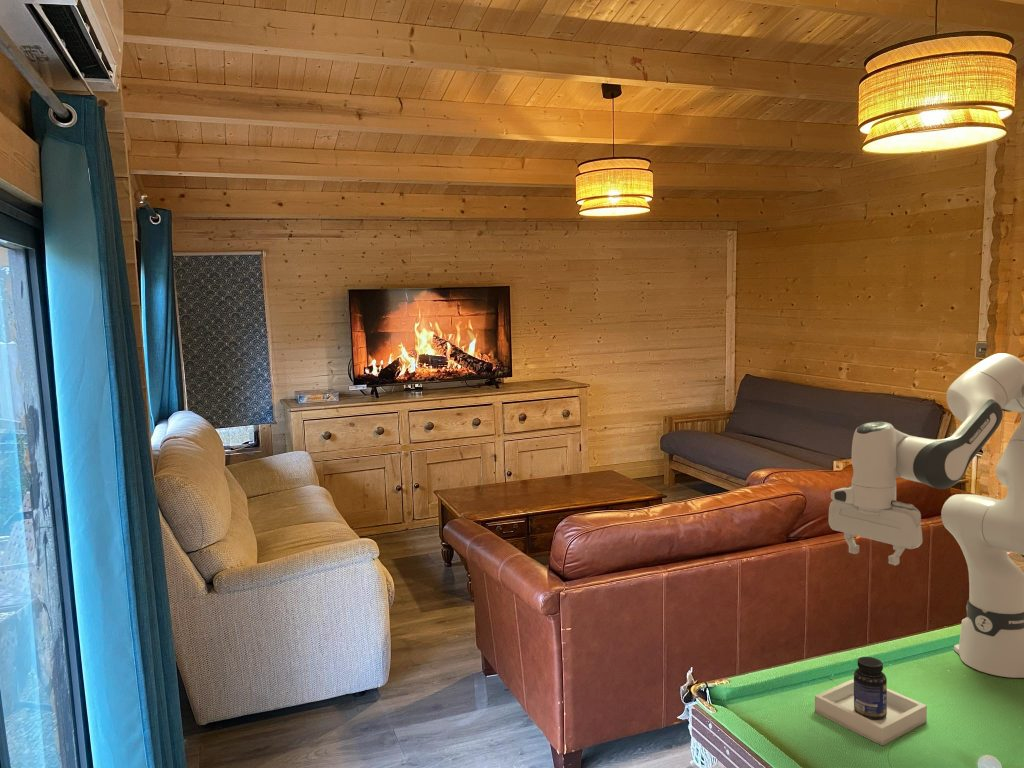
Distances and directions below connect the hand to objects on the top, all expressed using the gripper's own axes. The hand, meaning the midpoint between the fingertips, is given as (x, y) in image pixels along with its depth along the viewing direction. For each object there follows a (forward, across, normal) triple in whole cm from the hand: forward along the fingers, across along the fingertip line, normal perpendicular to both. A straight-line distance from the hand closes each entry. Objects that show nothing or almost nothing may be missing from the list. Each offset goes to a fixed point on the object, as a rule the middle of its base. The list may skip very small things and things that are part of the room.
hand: (873, 558), depth 162 cm
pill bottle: (+28, -8, +12) cm, 32 cm away
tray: (+29, -8, +12) cm, 33 cm away
